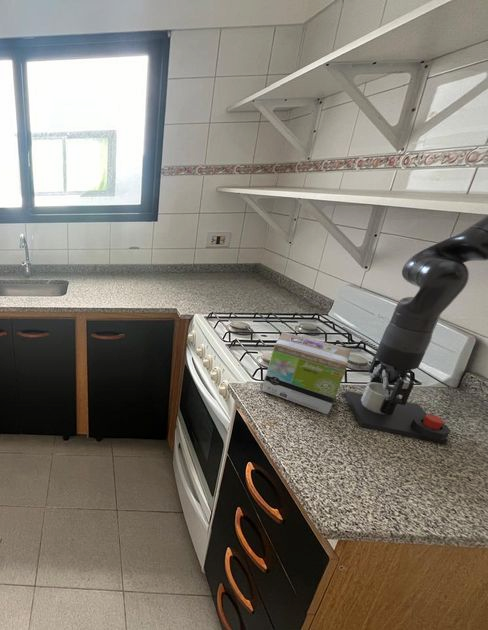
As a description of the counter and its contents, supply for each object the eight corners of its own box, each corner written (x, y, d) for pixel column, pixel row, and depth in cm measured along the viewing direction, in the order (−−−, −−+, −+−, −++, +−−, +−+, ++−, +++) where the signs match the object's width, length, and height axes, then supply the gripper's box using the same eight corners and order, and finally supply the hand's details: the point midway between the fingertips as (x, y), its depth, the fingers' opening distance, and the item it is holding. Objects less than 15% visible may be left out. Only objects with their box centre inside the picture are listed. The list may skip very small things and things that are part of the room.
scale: (418, 408, 85) (423, 398, 84) (450, 447, 74) (456, 436, 72) (344, 394, 91) (347, 385, 90) (362, 428, 79) (366, 418, 78)
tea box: (260, 392, 92) (273, 343, 86) (269, 376, 99) (281, 329, 93) (329, 416, 83) (348, 363, 77) (333, 396, 90) (351, 346, 84)
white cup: (386, 402, 86) (394, 385, 84) (397, 417, 81) (405, 400, 79) (356, 396, 88) (363, 380, 86) (365, 411, 83) (372, 394, 81)
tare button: (435, 423, 77) (439, 416, 76) (442, 431, 74) (446, 424, 73) (419, 420, 78) (423, 412, 77) (425, 428, 75) (429, 420, 74)
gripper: (442, 362, 70) (411, 425, 76) (410, 332, 82) (385, 389, 88) (396, 355, 72) (370, 417, 79) (371, 328, 85) (350, 383, 91)
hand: (378, 402), depth 84 cm, fingers open, 8 cm apart
